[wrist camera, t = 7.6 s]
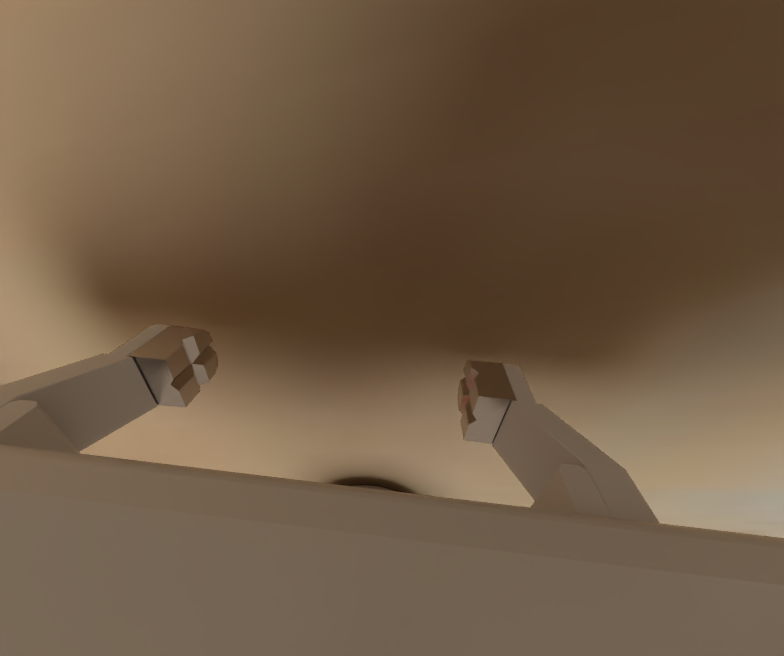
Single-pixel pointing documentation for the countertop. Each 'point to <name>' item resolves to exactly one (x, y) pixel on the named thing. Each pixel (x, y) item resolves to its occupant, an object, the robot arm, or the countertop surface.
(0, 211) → the countertop surface
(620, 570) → the robot arm
